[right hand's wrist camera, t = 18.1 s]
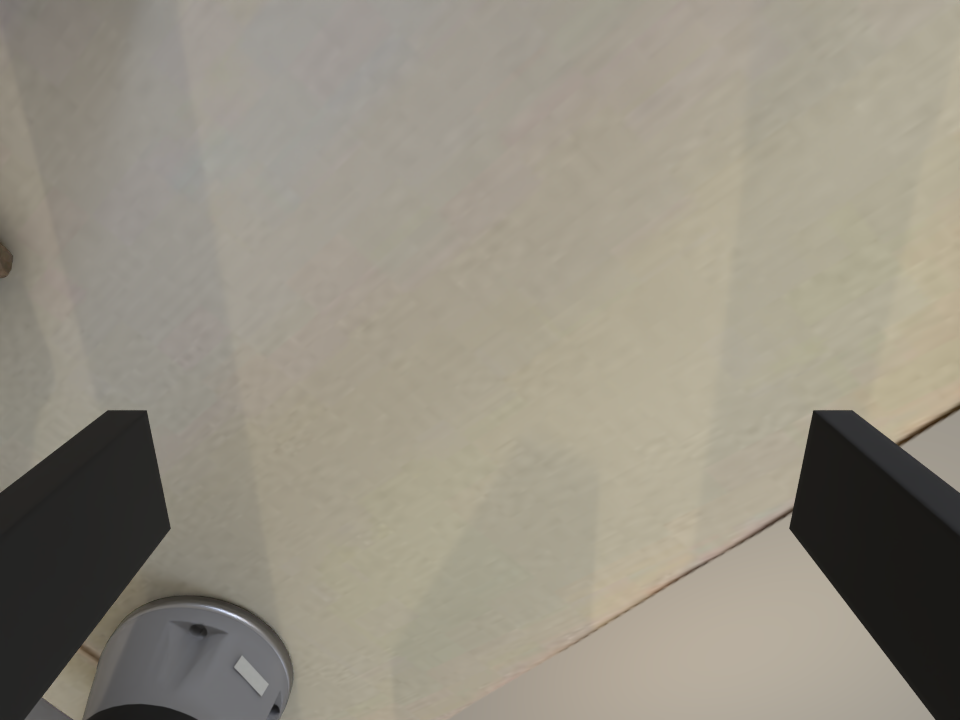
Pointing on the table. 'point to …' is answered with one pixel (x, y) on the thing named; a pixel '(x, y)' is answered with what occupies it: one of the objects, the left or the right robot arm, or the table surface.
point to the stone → (5, 261)
